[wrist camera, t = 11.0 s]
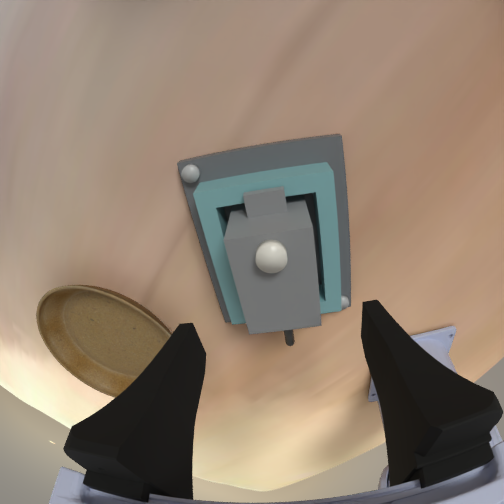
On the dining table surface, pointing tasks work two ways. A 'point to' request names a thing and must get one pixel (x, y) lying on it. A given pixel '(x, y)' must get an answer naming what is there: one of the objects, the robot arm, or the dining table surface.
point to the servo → (274, 262)
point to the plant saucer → (99, 335)
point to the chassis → (295, 183)
